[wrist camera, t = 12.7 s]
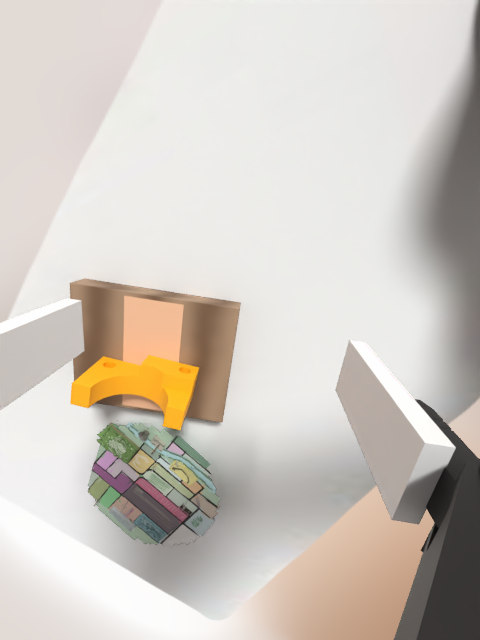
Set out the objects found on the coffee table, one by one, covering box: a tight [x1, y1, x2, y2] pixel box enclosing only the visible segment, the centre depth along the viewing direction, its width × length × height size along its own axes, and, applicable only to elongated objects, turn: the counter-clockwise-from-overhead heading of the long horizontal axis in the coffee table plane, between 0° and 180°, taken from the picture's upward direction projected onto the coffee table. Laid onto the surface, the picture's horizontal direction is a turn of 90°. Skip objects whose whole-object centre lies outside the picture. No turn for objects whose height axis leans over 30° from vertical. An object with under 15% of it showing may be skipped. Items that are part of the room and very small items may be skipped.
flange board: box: [70, 279, 241, 422], centre depth 37 cm, size 20×16×3 cm
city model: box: [88, 420, 221, 547], centre depth 44 cm, size 25×23×6 cm
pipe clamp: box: [71, 355, 199, 430], centre depth 33 cm, size 12×4×6 cm, turn 76°
